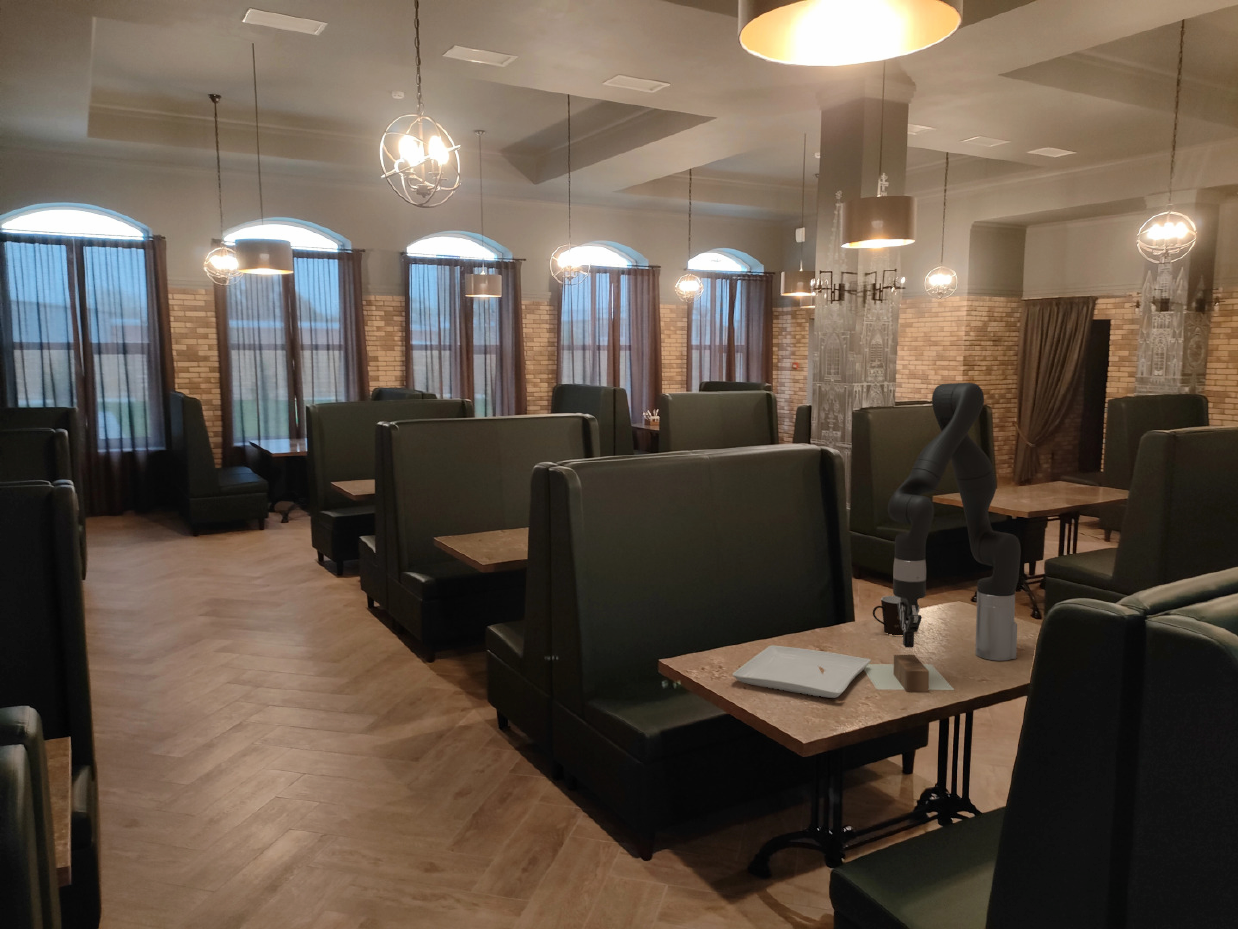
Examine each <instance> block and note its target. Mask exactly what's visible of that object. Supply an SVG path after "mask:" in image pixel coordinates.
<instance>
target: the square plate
mask: <svg viewBox="0 0 1238 929" xmlns="http://www.w3.org/2000/svg"><path fill="white" fill-rule="evenodd" d="M871 661H872V659H871V658H865V657H858V656H855V655H854V656H852V655H849V654H848V655H847V654H841V653H837V652H830V651H829V652H828V651H823V650H816V649H807V648H799V647H792V646H791V647H790V646H783V645H781V646H780V645H776V644H775V645H773V644H772V645H769V646H767V647H766V648H764V649H763V650H762V651H760V652H759V653H757V654H756V655H754V656H753V657H752V658H751V659H750V660H748V661H747V662H745V663H744V664H743V665H742V666H740V667H739V668H737V669H736V670H735V671H734V672H733V673H732V674H731V675H732V677H733V678H735V680H737V681H739V682H740V683H743V684H747V685H752V686H758V687H762V688H766V687H768V688H767V689H772V688H774V689H773V690H777V689H779V691H783V690H784V692H789V693H795V694H800V693H802V695H807V694H808V695H807V696H811V695H813V696H814V697H819V696H821V697H823V698H829V699H830V698H831V699H835V698H838V697H839V696H841V694H842V693H844V692H845V690H846V689H847V687H848V686H849V685H850V684H851V682H852V681H853V680H854V679H855V678H856V677H857V676H858V675H860V674H861V673H862V671H864V668H865V667H866V666H867V665H868V664H871ZM820 668H821V669H823V670H824V671H823V673H822V671H821V669H820ZM813 696H812V697H813ZM821 697H819V698H821Z"/></svg>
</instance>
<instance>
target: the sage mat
mask: <svg viewBox="0 0 1238 929" xmlns="http://www.w3.org/2000/svg"><path fill="white" fill-rule="evenodd" d="M922 664H923V663H922ZM923 665H924V666H925V667H926V669H927V670H928V671H929V688H928V691H955V688H954V687H953V686H952V685H951V684H950V682H948V681H947V679H946V678H944V677H943V675H942V674H941V673H940V672H939V671H938V669H936V668H935V666H934V665H933V664H932V663H931V664H926V663H925V664H923ZM863 671H864V672H865V673H866V675H867V677H868V678H869V680H870V681H871V683H872V684H873V686H874V687H875V689H876V690H878V691H879V690H881V691H882V690H885V691H886V690H889V691H891V690H894V691H895V690H896V691H900V690H902V691H903V690H904V691H906V690H905V689H904V688H903V686H902V685H901V684H900V682H899V681H898V680H897V678H896V677H895V676H894V674H893V673H894V663H890V664H889V663H883V664H881V663H869V664H868V665H867V666H866V667H865V668H864V670H863Z"/></svg>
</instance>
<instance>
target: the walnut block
mask: <svg viewBox="0 0 1238 929" xmlns="http://www.w3.org/2000/svg"><path fill="white" fill-rule="evenodd" d="M893 664H894V673H893V674H894V676H895V677H896V678H897V680H898V681H899V682H900V684H901V685H902V686H903V688H904V689H905V690H904V691H905V692H907V693H928V692H929V690H928V688H929V671H928V670H927V669H926V667H925V666H924V665H923V663H922V662H921V660H919V658H918V657H917V656H916V655H915V654H893Z"/></svg>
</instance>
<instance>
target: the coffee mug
mask: <svg viewBox="0 0 1238 929" xmlns="http://www.w3.org/2000/svg"><path fill="white" fill-rule="evenodd" d="M880 601H881V605H876V606H875V607H874V608H873V609H872V616H873V618H874V619H875V621H877V622H879V623H881V625H883V631H884V632H886V633H888V634H892V635H903V631H904V630H902V626H901V625H900V619H899V613H898V607H897V603H899V602H901V601H900V598H899V597H896V596H895V595H884V596H882V597H880ZM879 608H880V609H881V611H882V620H881V619H879V618H878V616H876V611H877V610H878V609H879Z"/></svg>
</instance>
